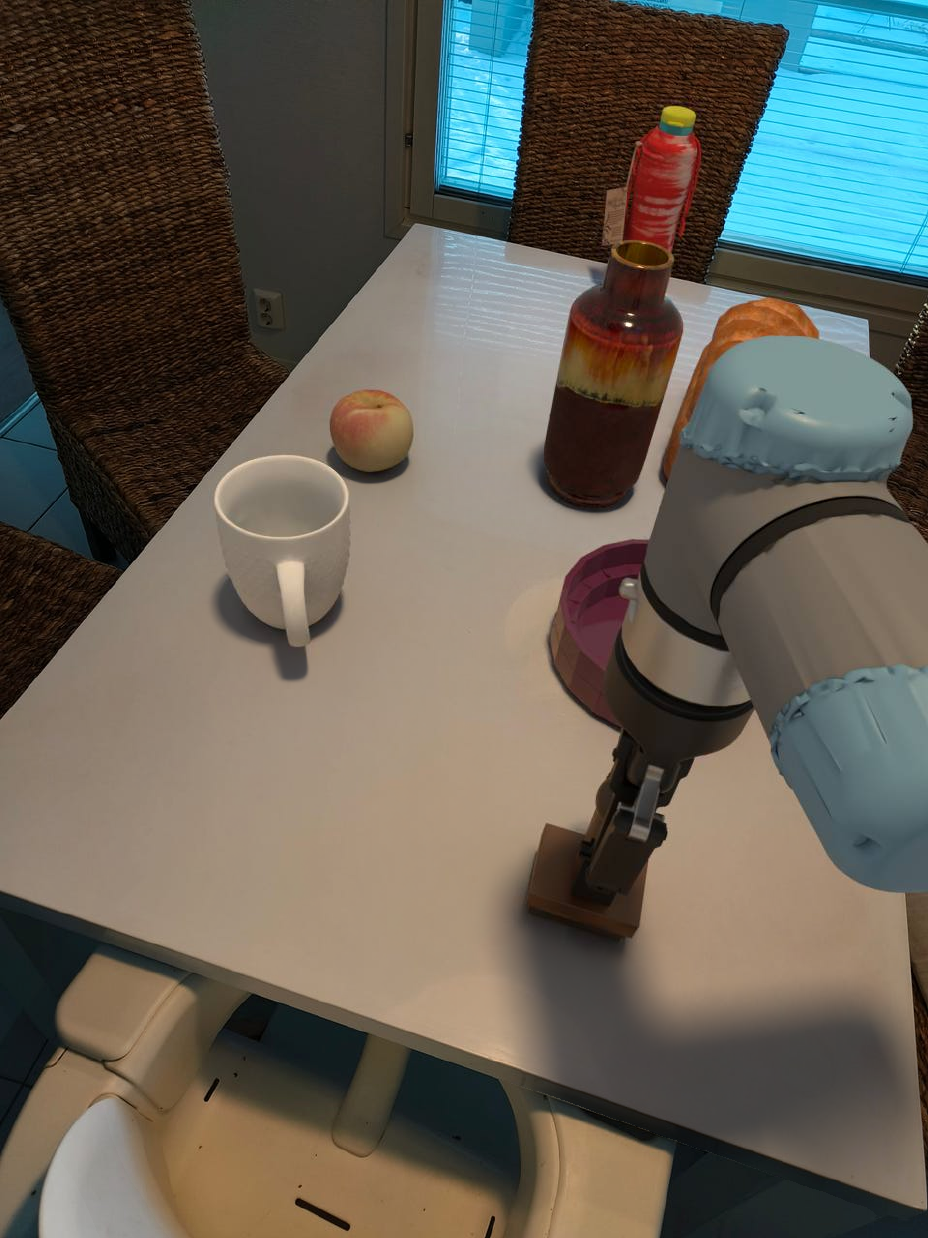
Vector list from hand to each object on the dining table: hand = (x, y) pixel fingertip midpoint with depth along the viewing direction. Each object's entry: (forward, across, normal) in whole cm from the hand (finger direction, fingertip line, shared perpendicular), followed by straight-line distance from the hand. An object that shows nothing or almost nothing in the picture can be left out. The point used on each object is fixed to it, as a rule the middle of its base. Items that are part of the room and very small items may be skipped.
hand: (596, 872), depth 59 cm
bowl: (+5, -25, +1) cm, 26 cm away
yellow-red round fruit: (+5, -42, -33) cm, 54 cm away
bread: (+5, -63, +5) cm, 63 cm away
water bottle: (+5, -98, -14) cm, 99 cm away
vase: (+5, -49, -10) cm, 50 cm away
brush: (+4, 0, 0) cm, 4 cm away
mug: (+5, -18, -32) cm, 37 cm away
